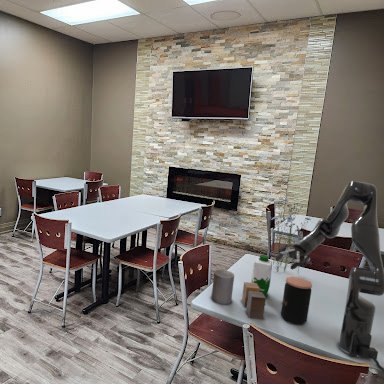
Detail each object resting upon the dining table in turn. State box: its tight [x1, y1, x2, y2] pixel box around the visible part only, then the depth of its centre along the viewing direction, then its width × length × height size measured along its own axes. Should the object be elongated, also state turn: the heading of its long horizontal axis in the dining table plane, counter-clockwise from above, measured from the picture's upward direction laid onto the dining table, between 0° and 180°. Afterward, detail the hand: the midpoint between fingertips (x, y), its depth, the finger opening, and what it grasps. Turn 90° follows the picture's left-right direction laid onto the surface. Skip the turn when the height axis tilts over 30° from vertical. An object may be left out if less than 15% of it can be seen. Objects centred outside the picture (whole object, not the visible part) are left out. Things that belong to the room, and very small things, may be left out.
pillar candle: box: [211, 269, 235, 305], centre depth 166 cm, size 10×10×15 cm
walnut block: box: [246, 291, 267, 320], centre depth 153 cm, size 6×6×10 cm
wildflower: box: [270, 198, 312, 274], centre depth 207 cm, size 22×23×45 cm
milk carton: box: [251, 254, 273, 299], centre depth 174 cm, size 9×9×20 cm
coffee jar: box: [280, 276, 313, 326], centre depth 150 cm, size 11×11×18 cm
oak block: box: [241, 281, 260, 308], centre depth 163 cm, size 6×6×10 cm
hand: (283, 263), depth 164 cm, fingers open, 8 cm apart
